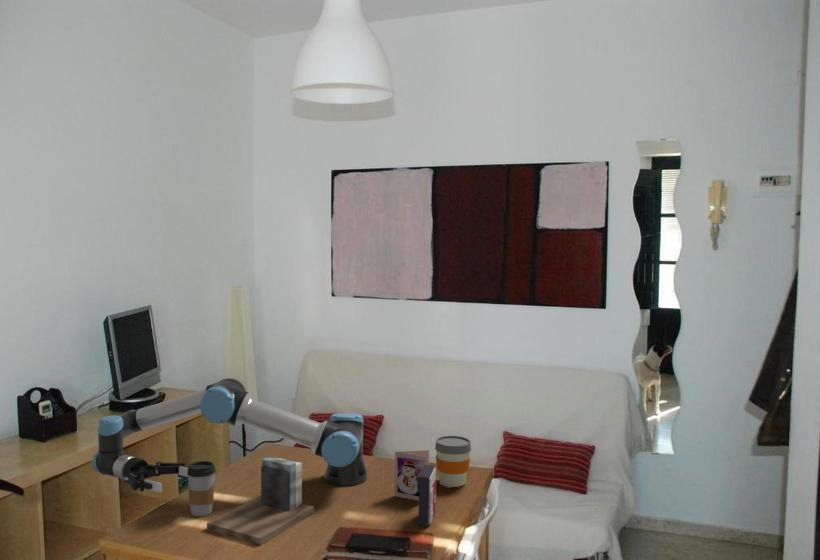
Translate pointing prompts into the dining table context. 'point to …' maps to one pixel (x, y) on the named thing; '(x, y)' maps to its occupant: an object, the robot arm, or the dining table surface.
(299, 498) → the block on wooden base
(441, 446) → the reusable coffee cup
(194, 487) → the coffee cup
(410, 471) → the greeting card
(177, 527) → the dining table surface
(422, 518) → the dark grey box
